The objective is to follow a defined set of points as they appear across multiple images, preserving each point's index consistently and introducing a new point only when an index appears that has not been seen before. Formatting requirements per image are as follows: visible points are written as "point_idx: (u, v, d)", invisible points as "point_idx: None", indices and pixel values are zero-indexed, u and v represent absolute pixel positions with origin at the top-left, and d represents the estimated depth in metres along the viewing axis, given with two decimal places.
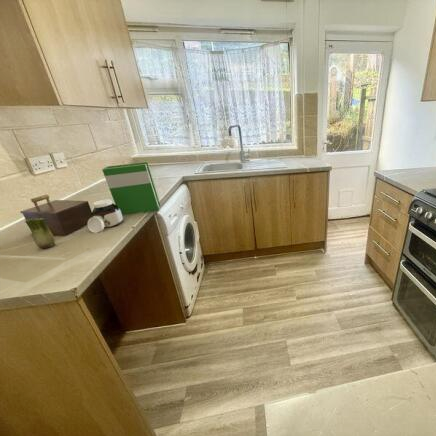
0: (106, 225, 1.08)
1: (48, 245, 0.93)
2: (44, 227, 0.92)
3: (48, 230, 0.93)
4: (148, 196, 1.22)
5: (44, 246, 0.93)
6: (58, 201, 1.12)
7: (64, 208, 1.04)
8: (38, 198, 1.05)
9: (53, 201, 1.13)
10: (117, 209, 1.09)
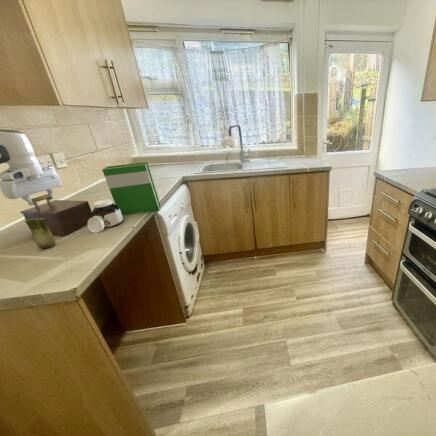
0: (106, 225, 1.08)
1: (48, 245, 0.93)
2: (44, 227, 0.92)
3: (48, 230, 0.93)
4: (148, 196, 1.22)
5: (44, 246, 0.93)
6: (58, 201, 1.13)
7: (64, 208, 1.04)
8: (38, 198, 1.05)
9: (53, 201, 1.13)
10: (117, 209, 1.09)
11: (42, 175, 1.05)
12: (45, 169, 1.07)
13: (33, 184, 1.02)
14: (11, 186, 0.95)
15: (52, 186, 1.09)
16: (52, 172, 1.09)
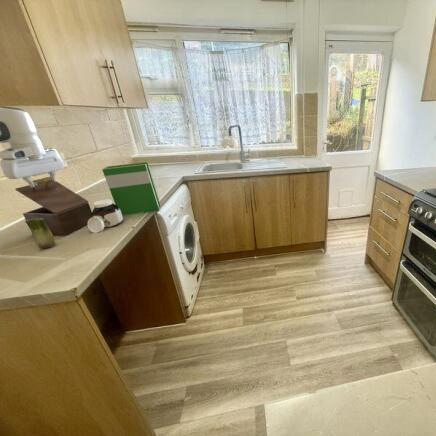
0: (106, 225, 1.08)
1: (48, 245, 0.93)
2: (44, 227, 0.92)
3: (48, 230, 0.93)
4: (148, 196, 1.22)
5: (44, 246, 0.93)
6: (56, 185, 1.09)
7: (64, 206, 1.03)
8: (40, 181, 1.01)
9: None
10: (117, 209, 1.09)
11: (44, 156, 1.01)
12: (47, 150, 1.04)
13: (35, 165, 0.98)
14: (12, 165, 0.91)
15: (54, 168, 1.05)
16: (55, 154, 1.05)
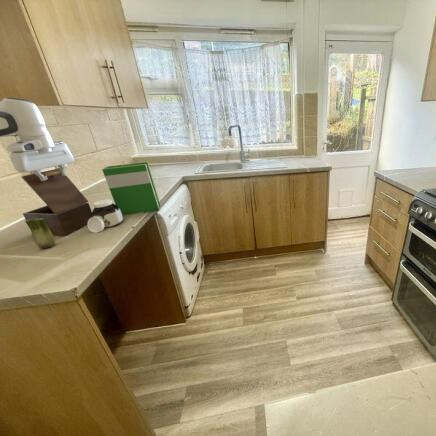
0: (106, 225, 1.08)
1: (48, 245, 0.93)
2: (44, 227, 0.92)
3: (48, 230, 0.93)
4: (148, 196, 1.22)
5: (44, 246, 0.93)
6: (62, 176, 1.07)
7: (65, 206, 1.03)
8: (50, 175, 0.99)
9: None
10: (117, 209, 1.09)
11: (54, 149, 0.99)
12: (56, 143, 1.01)
13: (45, 158, 0.96)
14: (22, 158, 0.89)
15: (64, 162, 1.03)
16: (64, 147, 1.03)
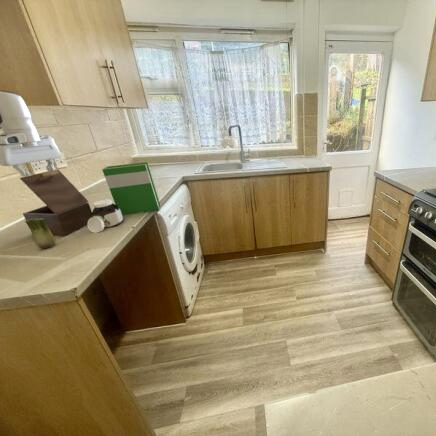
0: (106, 225, 1.08)
1: (48, 245, 0.93)
2: (44, 227, 0.92)
3: (48, 230, 0.93)
4: (148, 196, 1.22)
5: (44, 246, 0.93)
6: (61, 177, 1.07)
7: (65, 206, 1.03)
8: (48, 175, 1.00)
9: None
10: (117, 209, 1.09)
11: (39, 143, 0.97)
12: (43, 138, 0.99)
13: (29, 152, 0.94)
14: (5, 151, 0.86)
15: (50, 157, 1.01)
16: (50, 141, 1.01)
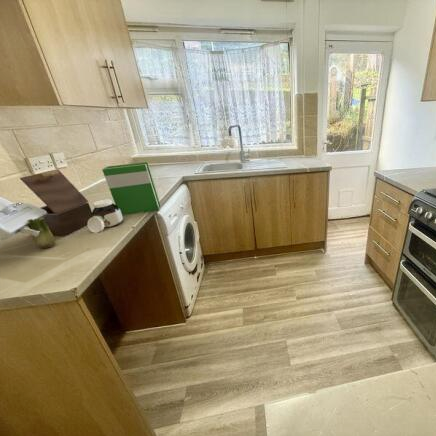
0: (106, 225, 1.08)
1: (48, 245, 0.93)
2: (44, 227, 0.92)
3: (48, 230, 0.93)
4: (148, 196, 1.22)
5: (44, 246, 0.93)
6: (61, 177, 1.07)
7: (65, 206, 1.03)
8: (48, 175, 1.00)
9: None
10: (117, 209, 1.09)
11: (17, 208, 0.91)
12: (16, 205, 0.93)
13: (16, 217, 0.88)
14: None
15: (38, 214, 0.95)
16: (25, 204, 0.95)
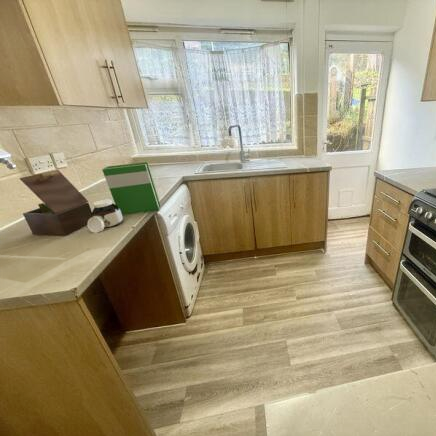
0: (106, 225, 1.08)
1: None
2: (52, 211, 1.05)
3: None
4: (148, 196, 1.22)
5: None
6: (60, 177, 1.07)
7: (65, 206, 1.03)
8: (48, 175, 1.00)
9: None
10: (117, 209, 1.09)
11: None
12: None
13: None
14: None
15: (1, 155, 0.99)
16: None
